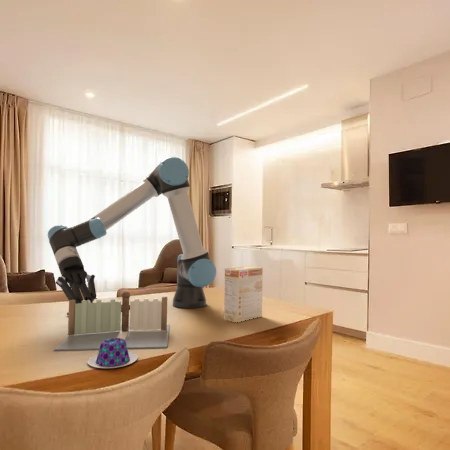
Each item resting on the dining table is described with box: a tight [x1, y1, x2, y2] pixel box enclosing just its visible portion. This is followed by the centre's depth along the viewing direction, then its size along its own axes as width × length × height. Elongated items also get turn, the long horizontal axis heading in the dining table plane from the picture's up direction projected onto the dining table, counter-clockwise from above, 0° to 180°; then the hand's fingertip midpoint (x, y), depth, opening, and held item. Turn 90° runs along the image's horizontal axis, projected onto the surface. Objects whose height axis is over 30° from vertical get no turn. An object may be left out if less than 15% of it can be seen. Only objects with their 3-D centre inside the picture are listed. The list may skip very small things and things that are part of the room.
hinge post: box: [121, 291, 131, 332], centre depth 110 cm, size 3×3×13 cm
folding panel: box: [67, 298, 122, 336], centre depth 107 cm, size 15×2×10 cm, turn 113°
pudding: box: [87, 338, 139, 369], centre depth 86 cm, size 12×12×5 cm
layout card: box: [53, 324, 170, 352], centre depth 105 cm, size 30×23×1 cm
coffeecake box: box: [223, 265, 263, 324], centre depth 132 cm, size 15×7×20 cm, turn 135°
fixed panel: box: [129, 296, 168, 331], centre depth 111 cm, size 12×2×11 cm, turn 98°
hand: (91, 319), depth 108 cm, fingers closed
